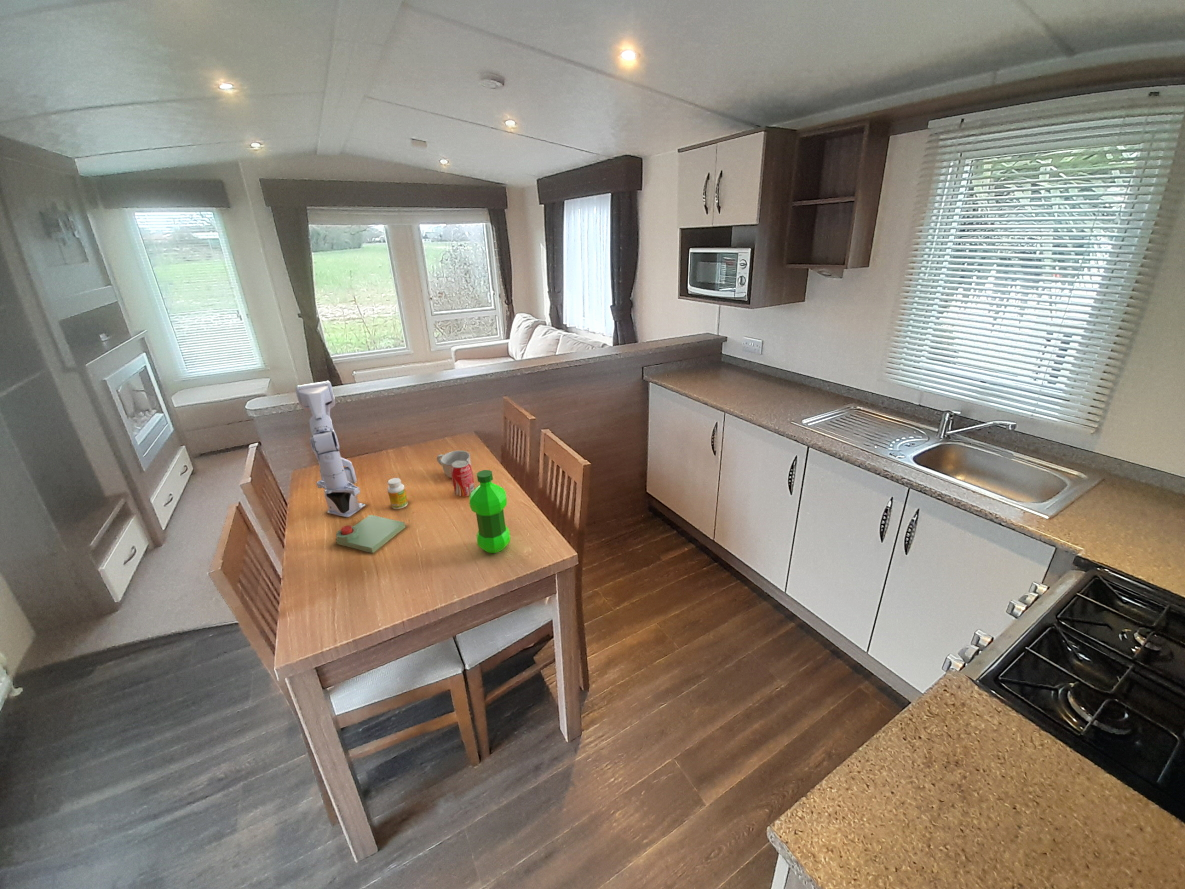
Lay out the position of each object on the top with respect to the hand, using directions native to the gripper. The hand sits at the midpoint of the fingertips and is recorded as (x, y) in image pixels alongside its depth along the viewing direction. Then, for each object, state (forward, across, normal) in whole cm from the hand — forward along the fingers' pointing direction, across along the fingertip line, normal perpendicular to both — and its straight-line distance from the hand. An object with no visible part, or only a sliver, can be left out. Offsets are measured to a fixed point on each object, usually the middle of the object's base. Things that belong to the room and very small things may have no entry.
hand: (345, 511), depth 143 cm
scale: (+10, +4, +3) cm, 11 cm away
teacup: (+10, +5, +45) cm, 47 cm away
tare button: (+7, 0, -1) cm, 7 cm away
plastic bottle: (+10, +44, +10) cm, 47 cm away
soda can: (+10, +17, +34) cm, 40 cm away
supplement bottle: (+10, 0, +20) cm, 23 cm away
